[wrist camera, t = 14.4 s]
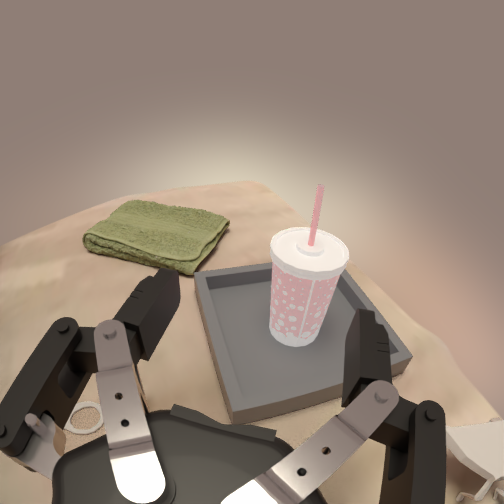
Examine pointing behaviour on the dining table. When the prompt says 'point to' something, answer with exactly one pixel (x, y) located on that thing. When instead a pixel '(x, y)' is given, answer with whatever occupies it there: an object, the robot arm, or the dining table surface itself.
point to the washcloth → (157, 235)
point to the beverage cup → (303, 279)
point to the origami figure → (479, 452)
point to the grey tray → (277, 344)
